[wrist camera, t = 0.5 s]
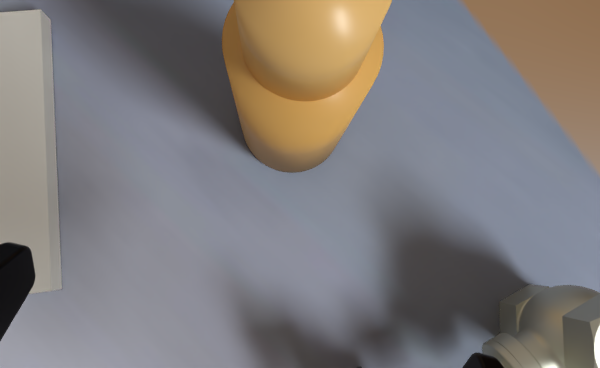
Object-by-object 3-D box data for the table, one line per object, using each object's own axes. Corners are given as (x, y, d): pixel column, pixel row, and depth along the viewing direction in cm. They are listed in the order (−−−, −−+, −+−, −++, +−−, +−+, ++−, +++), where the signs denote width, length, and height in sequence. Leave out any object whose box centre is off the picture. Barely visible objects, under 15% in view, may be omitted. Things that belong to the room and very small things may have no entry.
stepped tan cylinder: (346, 166, 22) (437, 63, 10) (247, 177, 22) (215, 84, 10) (333, 73, 23) (401, -129, 11) (237, 82, 23) (195, -118, 10)
